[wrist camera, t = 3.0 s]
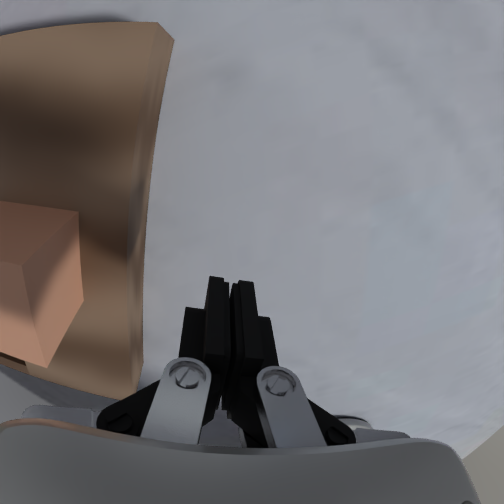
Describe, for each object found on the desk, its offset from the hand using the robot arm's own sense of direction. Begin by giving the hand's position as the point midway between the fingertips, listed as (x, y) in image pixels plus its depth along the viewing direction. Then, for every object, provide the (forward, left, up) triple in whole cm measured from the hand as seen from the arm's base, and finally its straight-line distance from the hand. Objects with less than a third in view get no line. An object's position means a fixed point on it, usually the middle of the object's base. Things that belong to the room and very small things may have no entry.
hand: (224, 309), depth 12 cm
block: (-1, +10, -3) cm, 10 cm away
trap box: (-1, +17, -7) cm, 18 cm away
